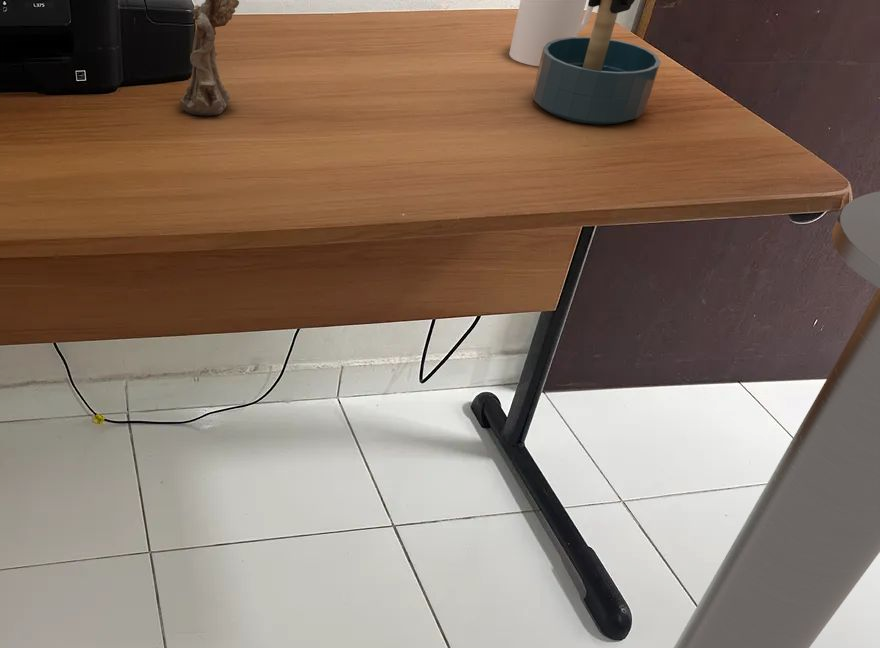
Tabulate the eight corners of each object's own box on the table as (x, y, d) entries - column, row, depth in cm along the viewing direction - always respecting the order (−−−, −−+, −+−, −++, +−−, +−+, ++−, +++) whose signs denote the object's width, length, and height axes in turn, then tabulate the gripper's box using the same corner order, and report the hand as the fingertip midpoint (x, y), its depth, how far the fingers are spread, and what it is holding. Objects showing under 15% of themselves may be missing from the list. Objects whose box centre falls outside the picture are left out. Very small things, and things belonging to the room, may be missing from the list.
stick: (600, 87, 106) (638, -46, 97) (583, 88, 106) (619, -46, 97) (592, 81, 108) (628, -51, 99) (575, 81, 108) (610, -51, 98)
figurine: (189, 94, 108) (187, -47, 98) (238, 98, 107) (241, -43, 97) (176, 117, 103) (173, -30, 92) (228, 121, 102) (230, -26, 92)
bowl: (663, 125, 104) (681, 71, 100) (558, 129, 102) (572, 74, 98) (612, 86, 113) (627, 35, 109) (515, 89, 112) (526, 38, 108)
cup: (604, 57, 122) (627, -25, 115) (538, 70, 117) (558, -15, 110) (561, 40, 127) (581, -40, 120) (496, 52, 122) (513, -31, 116)
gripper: (760, -187, 86) (690, 19, 99) (616, -205, 95) (569, -13, 108) (719, -183, 83) (652, 31, 95) (574, -201, 92) (530, -4, 104)
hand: (609, 6), depth 101 cm, fingers closed on stick, 2 cm apart
